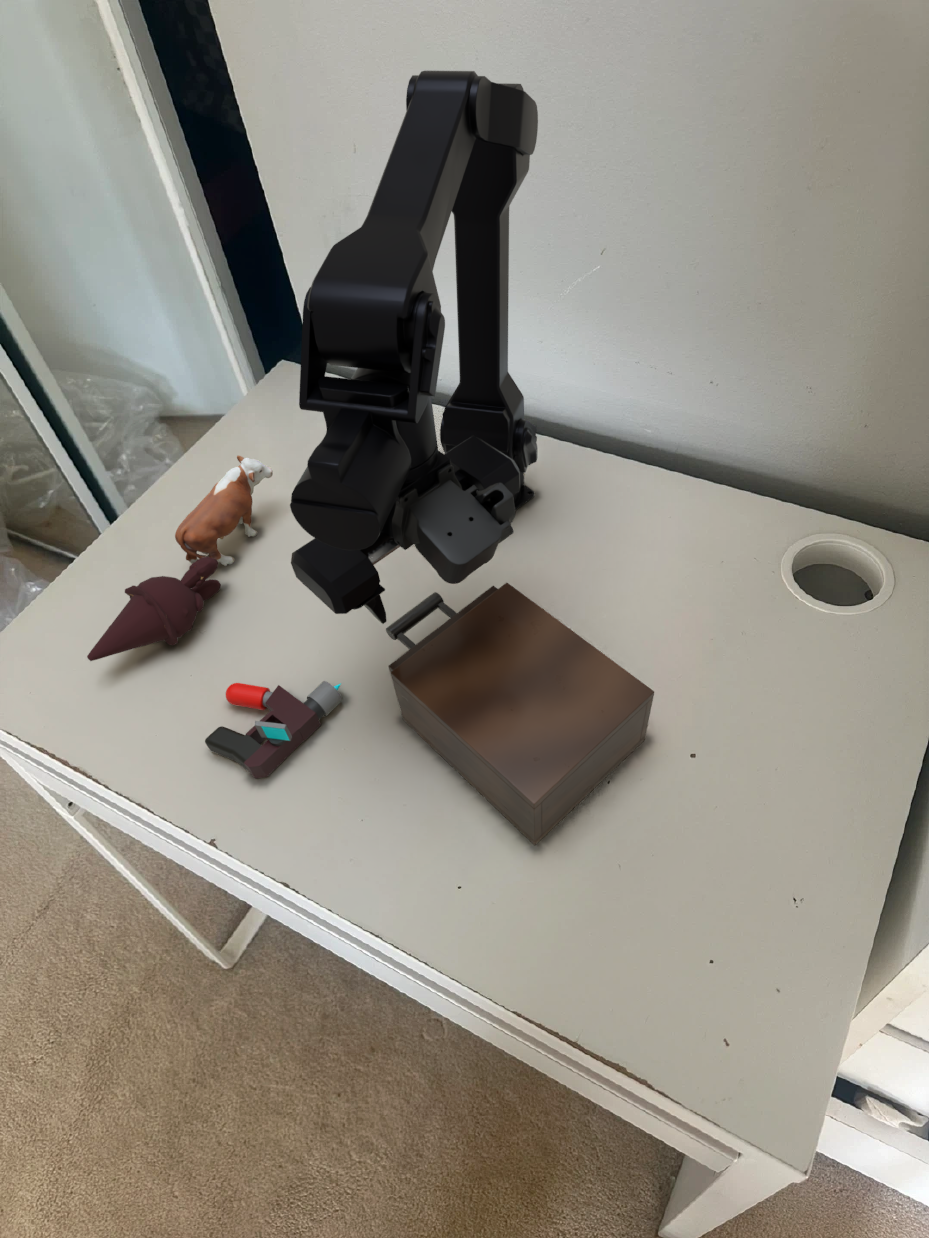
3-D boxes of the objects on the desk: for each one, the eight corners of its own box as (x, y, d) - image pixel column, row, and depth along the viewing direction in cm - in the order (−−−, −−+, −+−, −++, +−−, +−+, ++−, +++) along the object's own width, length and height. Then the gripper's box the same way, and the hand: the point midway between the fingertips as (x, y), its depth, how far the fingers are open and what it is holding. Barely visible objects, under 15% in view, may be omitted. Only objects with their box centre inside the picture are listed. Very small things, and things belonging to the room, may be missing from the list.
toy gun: (357, 699, 73) (346, 669, 69) (259, 794, 68) (243, 767, 64) (286, 649, 77) (273, 618, 74) (190, 734, 72) (170, 706, 68)
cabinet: (402, 719, 71) (389, 672, 65) (509, 633, 76) (506, 581, 71) (534, 845, 63) (534, 804, 57) (645, 739, 68) (654, 691, 62)
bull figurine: (292, 509, 90) (273, 453, 83) (210, 588, 83) (182, 534, 77) (263, 497, 91) (242, 441, 85) (181, 573, 85) (151, 519, 79)
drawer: (364, 671, 74) (353, 633, 69) (461, 597, 79) (457, 557, 74) (519, 816, 64) (517, 784, 59) (620, 722, 68) (626, 685, 64)
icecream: (104, 666, 70) (240, 574, 77) (54, 613, 72) (191, 529, 79) (120, 701, 76) (244, 612, 83) (72, 651, 77) (198, 569, 85)
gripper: (361, 579, 48) (398, 713, 60) (573, 432, 55) (567, 579, 67) (261, 492, 53) (314, 631, 66) (465, 369, 60) (478, 516, 73)
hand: (423, 589), depth 68 cm, fingers open, 9 cm apart
